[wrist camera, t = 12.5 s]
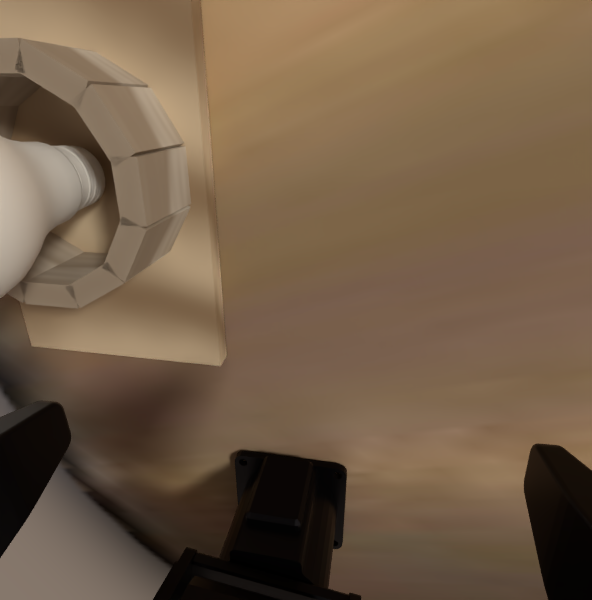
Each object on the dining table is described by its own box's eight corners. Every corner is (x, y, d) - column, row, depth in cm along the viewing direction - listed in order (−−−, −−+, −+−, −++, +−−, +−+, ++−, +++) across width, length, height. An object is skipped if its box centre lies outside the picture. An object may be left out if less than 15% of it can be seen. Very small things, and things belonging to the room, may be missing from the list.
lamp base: (226, 356, 24) (189, 415, 19) (44, 337, 25) (-29, 387, 21) (193, -100, 16) (116, -181, 11) (-67, -79, 18) (-221, -141, 13)
